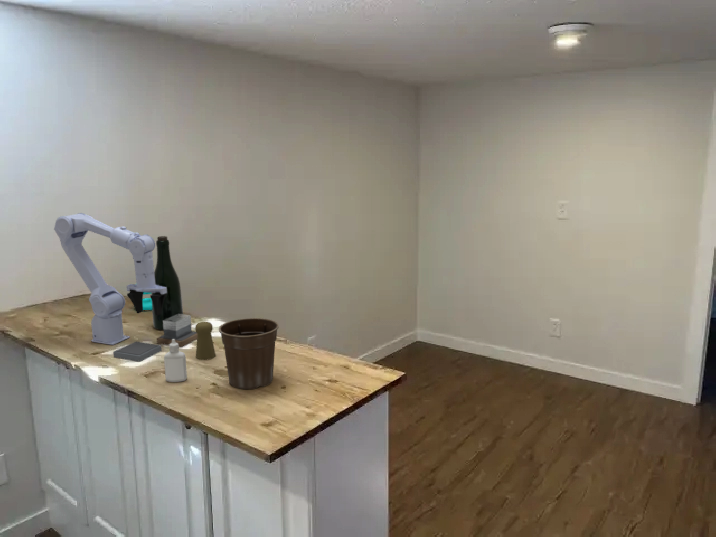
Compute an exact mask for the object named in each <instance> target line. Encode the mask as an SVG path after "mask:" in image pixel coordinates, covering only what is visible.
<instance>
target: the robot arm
mask: <svg viewBox="0 0 716 537" xmlns="http://www.w3.org/2000/svg"><path fill="white" fill-rule="evenodd" d="M53 230H54V232H55V233H56V234H57V236H58V239H59V242H60V245H61V248H62V250H63V251H64V253H65V254H66V256H67V257H68V260H69V261H70V262H71V264H72V265H73V266H74V269H75V270H76V271H77V273H78V275H79V276H80V277H81V279H82V281H83V282H84V284H85V286H86V287H87V288H88V290H89V292H90V296H89V298H88V301H89V302H90V306H91V310H92V312H93V313H94V315H93V317H92V319H91V322H90V325H91V331H92V334H91V335H92V339H91V340H90V341H92V343H99V344H105V345H111V346H114V345H116V344H118V343H121V342H123V341H126V340H128V339H130V336H129V335H125V334H124V325H123V315H122V313H123V309H124V308H125V306H126V299H125V297H124V295H123V294H121V293H120V292H119V291H118V290H117V289H116V287H114V286H112V285H110V284H108V283H107V282H106V280H105V279H104V277H103V275H101V272H100V271H99V269H98V268H97V266H96V265H95V263H94V262H93V260H92V259H91V257H90V256H89V254H88V252H87V251H86V250H85V248H84V246H83V245H82V244H83V240H84V238H85V237H86V235H87V233H88V232H91V233H94V234H98V235H100V236H104V237H106V238H109V240H110V241H111V244H114V245H117V246H119V247H122V248H123V249H126V250H129V252H130V254H131V256H132V259H133V264H134V272H135V280H136V282H135V284H134V283H133V284H132V283H130V284H127V285H126V292H127V294H126V295H127V298H128V299H130V301H131V303H132V304H133V308H134V307H135V308H134V309H135V312H136V314H140V313H143V312H144V311H143V303H142V300H143V297H144V295H143V292H149V293H155V294H153V295H151V294H149V295H150V296H149V298H151V299H152V301H153V305H154V311H155V315H160V314H161V313H162V307H163V303H164V300H165V298H166V296H167V288H166V287H162V286H158V285H155V275H154V272H155V265H154V258H153V251H154V250H155V248H156V242H155V239H154V238H153V237H152V236H150V235H149V234H142V235H141V234H140V233H139V232H134V231H131V230H130V229H127V227H126V226H124V225H123V226H116V227H112V226H111V225H108V224H106V223H104V222H102V221H100V220H98V219H96V218H94V217H92V215H88V214H86V213H83V212H78V213H74V214H69V215H62V216H61V215H60V216H58V217H57V219H56V220H55V223H54V228H53Z"/></svg>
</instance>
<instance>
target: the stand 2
mask: <svg viewBox="0 0 716 537" xmlns="http://www.w3.org/2000/svg"><path fill="white" fill-rule="evenodd" d="M194 341H197V333H196V331H193V330H192V332H191V333H189V334H187V335H185V336H183V337H181V338H179V339H177V340H176V339H175V342H176V343H178V345H179V348H183V347H185V346H187V345H189V344H191V343H192V342H194ZM171 343H172V339H169V338H164V334H162V335H160V336H158V337H156V344H158V345H160V344H161V345H166V346H167V345H168V346H169V344H171Z"/></svg>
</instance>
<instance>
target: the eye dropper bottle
mask: <svg viewBox="0 0 716 537" xmlns="http://www.w3.org/2000/svg"><path fill="white" fill-rule="evenodd" d="M168 346H169V351H168V352H166V353H165V354H164V355H163V362H164V375H165V376H164V377H165V381H166V382H168V383H180V382H184V381H186V379H187V378H188V374H187V373H188V372H187V360H186V353H185V352H184V351H183V352H182V351H180V350H179V349H180V347H179V345H178V343H176V342H175V339H172V343H171V344H169V345H168Z"/></svg>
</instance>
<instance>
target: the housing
mask: <svg viewBox="0 0 716 537" xmlns="http://www.w3.org/2000/svg"><path fill="white" fill-rule="evenodd" d="M163 328H164V330H163V335H164V338H169V339H176V340H177V339H179V338H181V337H183V336H185V335H187V334H189V333H191V332H192V331H193V330H192V329H193V328H192V316H191V315H190V314H185V313H183V314H177V315H174V316H172V317H170V318H167V319H165V320H163Z"/></svg>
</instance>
